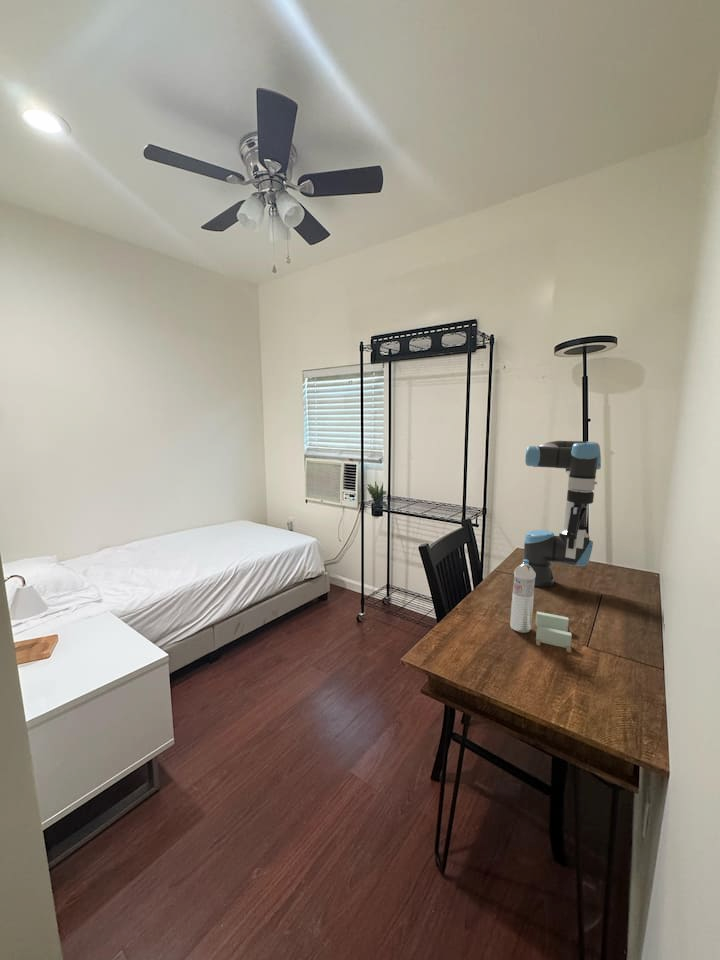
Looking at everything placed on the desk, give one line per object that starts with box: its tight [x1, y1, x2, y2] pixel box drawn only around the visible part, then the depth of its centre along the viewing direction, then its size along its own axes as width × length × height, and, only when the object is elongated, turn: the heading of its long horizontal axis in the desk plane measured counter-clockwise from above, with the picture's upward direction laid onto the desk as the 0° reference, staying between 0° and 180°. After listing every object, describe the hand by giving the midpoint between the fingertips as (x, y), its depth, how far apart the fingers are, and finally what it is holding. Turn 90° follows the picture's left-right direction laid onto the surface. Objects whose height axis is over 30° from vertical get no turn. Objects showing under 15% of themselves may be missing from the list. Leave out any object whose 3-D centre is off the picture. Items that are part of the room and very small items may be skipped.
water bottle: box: [509, 559, 536, 634], centre depth 132 cm, size 7×7×25 cm
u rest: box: [535, 611, 573, 653], centre depth 129 cm, size 10×18×4 cm, turn 156°
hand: (574, 552), depth 128 cm, fingers open, 13 cm apart
